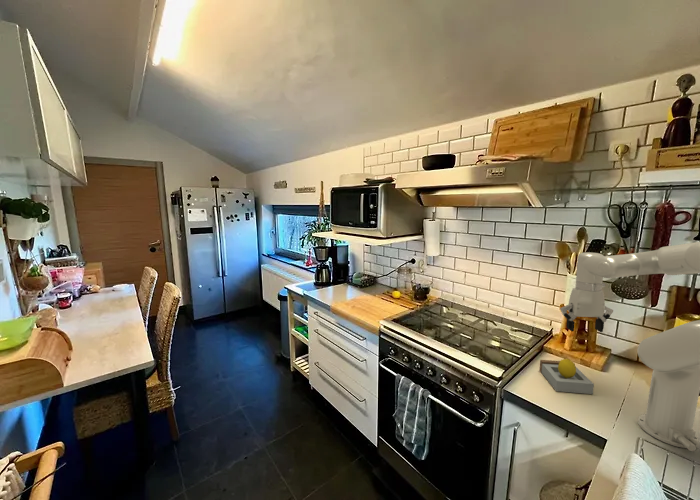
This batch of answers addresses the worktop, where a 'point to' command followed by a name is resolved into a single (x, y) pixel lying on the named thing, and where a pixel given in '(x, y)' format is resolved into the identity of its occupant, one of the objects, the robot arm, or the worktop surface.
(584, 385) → the tray
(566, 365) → the lemon
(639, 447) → the worktop surface
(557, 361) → the wall
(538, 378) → the worktop surface
